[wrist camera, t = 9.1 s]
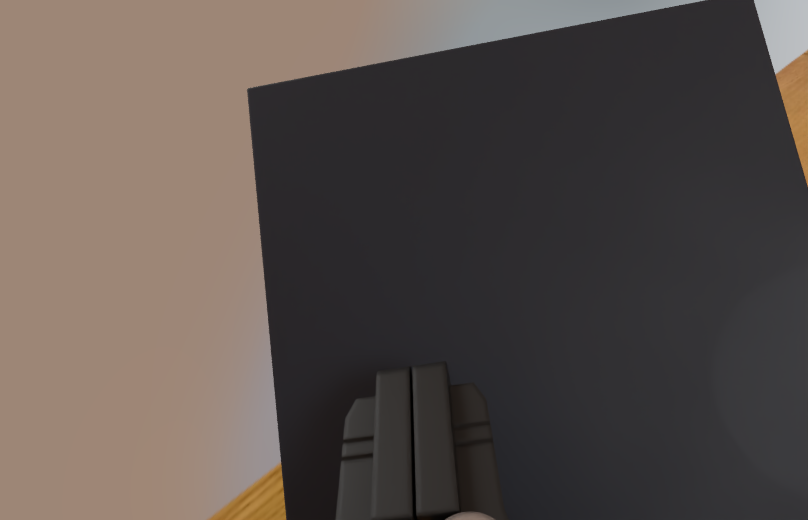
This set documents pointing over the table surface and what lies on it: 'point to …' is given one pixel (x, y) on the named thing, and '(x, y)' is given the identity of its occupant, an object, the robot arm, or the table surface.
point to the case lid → (552, 262)
